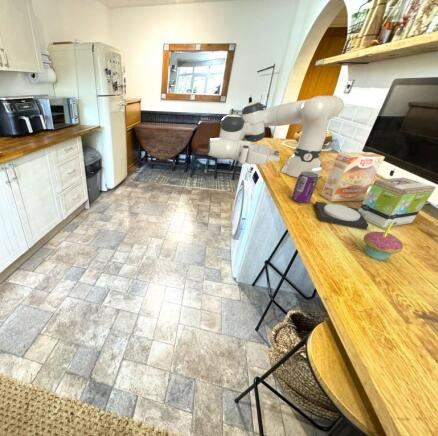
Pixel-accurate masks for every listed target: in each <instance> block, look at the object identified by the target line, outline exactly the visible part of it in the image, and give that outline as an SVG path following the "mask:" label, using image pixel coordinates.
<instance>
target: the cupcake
mask: <svg viewBox="0 0 438 436" xmlns="http://www.w3.org/2000/svg"><path fill="white" fill-rule="evenodd" d="M392 227H393V226H392V221H391V223H389V225H388V227H386V228H385V230H384V231H374V230H373V231H370V232H367V233H366V234H364V236H363V242H364V244H365V250H364V253H365V254H366V255H367V256H369V257H371V258H373V259H375V260H379V261H383V260H386V259H387V258H389V257H391V256H392V255H394V254H399V253H401V252H402V251H403V249H404V245H403V242H402V241H401V240H400V239H399V238H398V237H396V236H395V235H394V234H391V233H389V231H390V230H391V228H392Z"/></svg>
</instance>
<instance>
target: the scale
mask: <svg viewBox="0 0 438 436" xmlns="http://www.w3.org/2000/svg"><path fill="white" fill-rule="evenodd" d="M313 206H314V209H315V212H316V215H317V218H318V221H319V222H324V223H328V224H332V225H333V224H334V225H340V226H344V227H349V228H353V229H354V228H355V229H360V230H365V231H366V230H367V229H368V227H369V222H368V221H367V220H365V219H364V217H363V216H362V214H361V213H360V212H358V211H359V209H358V208H357V207H353V206H352V207H351V206H348V205H344V204H338V203H333V202H323V201H315V203H314V205H313Z"/></svg>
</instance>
